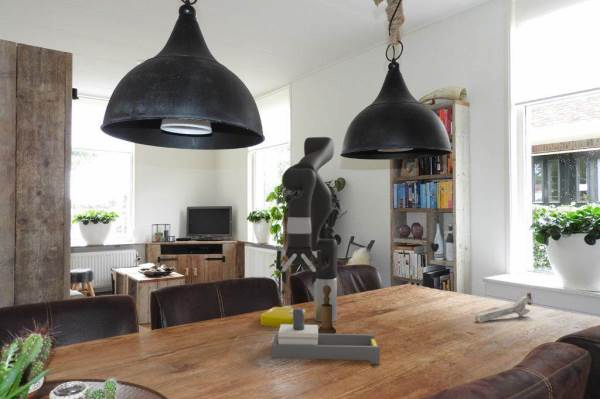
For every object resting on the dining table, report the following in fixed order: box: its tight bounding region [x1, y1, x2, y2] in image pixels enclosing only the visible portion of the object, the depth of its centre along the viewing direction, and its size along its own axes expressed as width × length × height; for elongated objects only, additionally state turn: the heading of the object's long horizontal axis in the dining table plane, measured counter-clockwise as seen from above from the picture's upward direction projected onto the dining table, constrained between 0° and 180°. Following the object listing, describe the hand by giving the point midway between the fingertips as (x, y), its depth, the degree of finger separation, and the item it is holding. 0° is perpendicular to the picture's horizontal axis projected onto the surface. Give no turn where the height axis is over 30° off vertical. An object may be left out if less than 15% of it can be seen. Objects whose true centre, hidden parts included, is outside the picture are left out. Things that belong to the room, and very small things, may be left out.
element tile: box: [260, 306, 307, 328], centre depth 167 cm, size 15×15×5 cm
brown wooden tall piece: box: [318, 286, 337, 334], centre depth 150 cm, size 7×6×18 cm
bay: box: [271, 332, 381, 365], centre depth 129 cm, size 12×32×5 cm, turn 88°
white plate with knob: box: [277, 307, 319, 345], centre depth 130 cm, size 9×12×13 cm
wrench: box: [474, 296, 533, 323], centre depth 173 cm, size 8×2×30 cm
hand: (298, 283), depth 130 cm, fingers open, 8 cm apart
